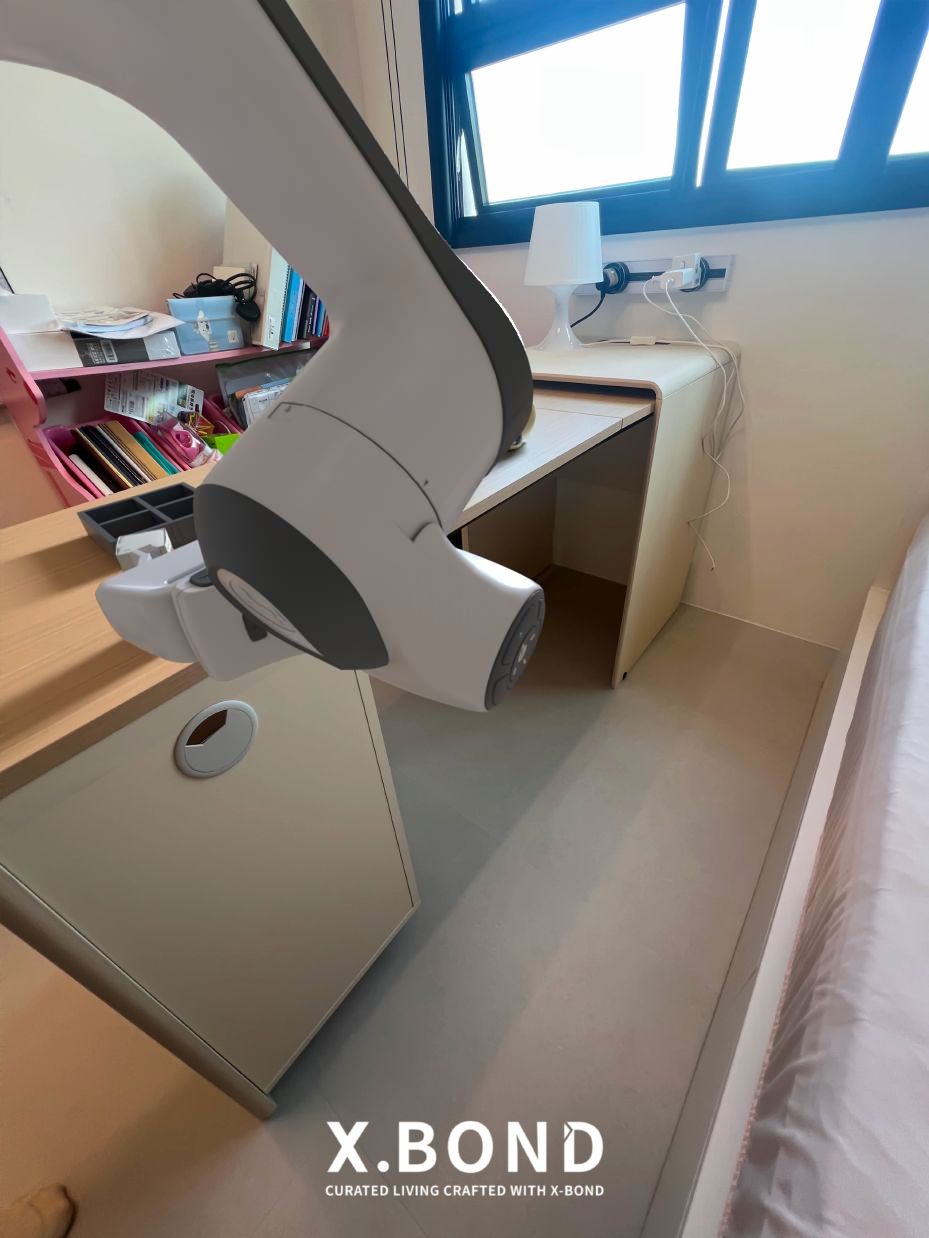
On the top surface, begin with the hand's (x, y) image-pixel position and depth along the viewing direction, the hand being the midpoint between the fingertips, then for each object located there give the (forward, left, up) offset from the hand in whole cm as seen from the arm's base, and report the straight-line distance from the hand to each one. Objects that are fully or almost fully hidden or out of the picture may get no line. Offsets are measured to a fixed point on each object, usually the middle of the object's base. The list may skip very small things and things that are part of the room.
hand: (200, 532), depth 41 cm
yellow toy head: (+69, +24, -14) cm, 74 cm away
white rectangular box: (-2, +12, -14) cm, 18 cm away
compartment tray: (+6, +39, -14) cm, 42 cm away
